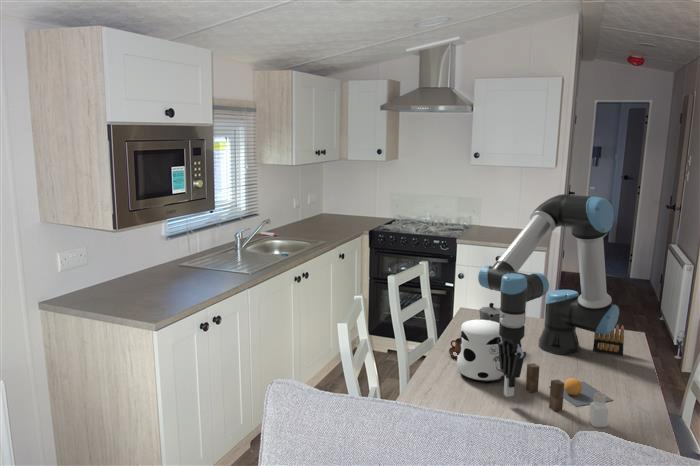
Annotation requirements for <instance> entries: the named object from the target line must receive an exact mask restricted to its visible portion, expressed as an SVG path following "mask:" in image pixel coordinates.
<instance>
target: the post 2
mask: <svg viewBox="0 0 700 466" xmlns="http://www.w3.org/2000/svg"><path fill="white" fill-rule="evenodd" d="M564 384H565V382H563V381H562V380H560V379H552V380H550V385H549V387H550V388H549V401H548V402H549V403H548V408H549V409H550V410H552V411H553V412H560V411H563V405H564V398H563V394H564Z"/></svg>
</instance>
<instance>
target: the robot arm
mask: <svg viewBox="0 0 700 466" xmlns="http://www.w3.org/2000/svg"><path fill="white" fill-rule="evenodd" d="M614 219H615V215H614V208H613V205H612V204H611V202H610V201H609V200H608V199H606V198H604V197H600V196H599V197H598V196H594V195H593V196H591V195H590V196H587V195H578V194H577V195H576V194H567V193H562V194H558V195H555V196H553V197H550V198H548V199H546V200H545V201H543V202H542V203H541V204H540V205H538V206H537V207H536V208H535V210H533V212H531V214H530V216H529V220H528V222H527V223H526V225H525V226H524V227H523V229H521V231H520V232H519V233H518V235H517V236H516V237H515V238H514V240H513V241H512V242H511V243H510V245H509V246H508V247H507V248H506V249H505V250H504V252H503V253H502V254H501V255H500V257H499V258H498V259H497V260H496V261H495V263H494V264H493V265H484V266H482V267H481V268H480V270H479V272H478V275H477V278H478V279H477V280H478V281H477V282H478V284H479V285H480V286H481V287H483V288H485V289H488V290H490V291H496V292H500V305H499V308H500V325H499V335H500V336H501V337H502V338H501V339H497V343H498V348H499V359H500V369H501V370H503V373H504V377H503V379H504V380H503V382H504V383H503V384H504V385H503V395H504V396H505V397H512V396H515V386H516V385H515V384H516V379H518V378H520V377H521V372H522V368H523V364H524V360H525V357H526V356H527V353H526V351H523V350H522V342H521V341H522V339H523V338H524V337H525V330H526V329H525V325H526V307H527V303H528V302H531V301H534V300H536V299H539V298H541V297H542V296H544V295H546V298H545V310H544V311H545V312H544V326H543V329H542V332H541V335H540V336H539V339H538V347H539V348H540V349H542V350H543V351H545V352H548V353H552V354H557V355H573V354H576V353H578V352H579V351H580V342H579V339H578V336H577V330H576V329H579V330H585V331H589V332H591V333H594V334H595V333H599V335H600V334H604V336H605V335H607V334H609V335H610V332H611V331H612V330H613V329H614V330H615V328H616V326H617V322H618V321H619V316H620V308H619V306H618V305H616V304H613V301H612V296H611V295H610V294H608V292H607V276H606V265H605V264H606V263H605V261H606V260H605V245H604V237H606V236H607V235H608V232H609V231H610V230H611V229H612V227H613V224H614V222H613V221H614ZM558 227H564V228H568V229H569V228H570V229H571V236H572V237H573V238H575V239H576V243H577V244H576V245H577V257H578V268H579V278H580V279H579V280H580V292H581V294H579V292H578V291H577V290H572V289H556V290H551V291H550V292H548V291H549V289H550V283H549V279H548V278H547V277H546V275H544V274H542V273H540V272H536V273H534V272H533V273H531V274H528V273H524V272H523V273H522V272H520V270H521V268H522V267H523V265H524V264H525V263H526V262H527V260H528V259H529V258H530V257H531V255H533V252H535V250H536V249H537V247H539V246H540V244H541V242H542V241H543V240H544V238H545V237H546V236H547V235H548V234H550V233H552V232H553V231H555V229H556V228H558ZM502 345H503V346H502Z"/></svg>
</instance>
